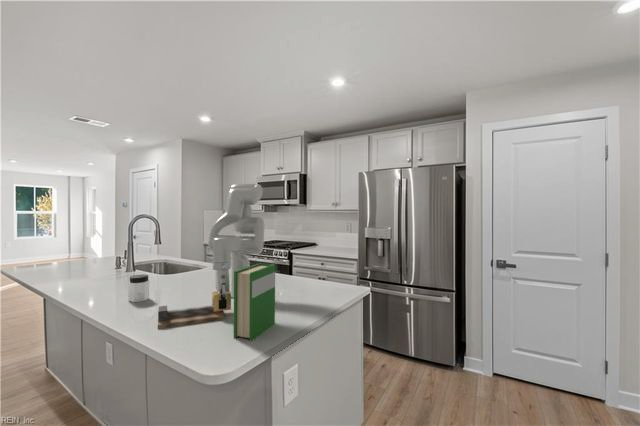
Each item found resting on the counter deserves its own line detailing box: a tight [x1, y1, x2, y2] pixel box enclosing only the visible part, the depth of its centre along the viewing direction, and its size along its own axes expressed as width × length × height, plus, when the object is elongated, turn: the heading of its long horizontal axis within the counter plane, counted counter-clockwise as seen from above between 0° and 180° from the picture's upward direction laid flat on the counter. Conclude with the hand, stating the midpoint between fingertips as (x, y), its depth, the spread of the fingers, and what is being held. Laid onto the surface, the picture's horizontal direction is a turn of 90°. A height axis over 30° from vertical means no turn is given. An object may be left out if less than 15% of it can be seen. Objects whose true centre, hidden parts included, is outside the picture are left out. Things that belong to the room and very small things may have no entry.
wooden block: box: [211, 290, 232, 312], centre depth 132 cm, size 7×6×7 cm
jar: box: [128, 273, 150, 303], centre depth 151 cm, size 9×8×12 cm
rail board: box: [157, 304, 226, 329], centre depth 127 cm, size 25×14×6 cm, turn 116°
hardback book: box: [233, 262, 276, 342], centre depth 115 cm, size 18×7×24 cm, turn 161°
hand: (221, 305), depth 132 cm, fingers closed on wooden block, 6 cm apart
